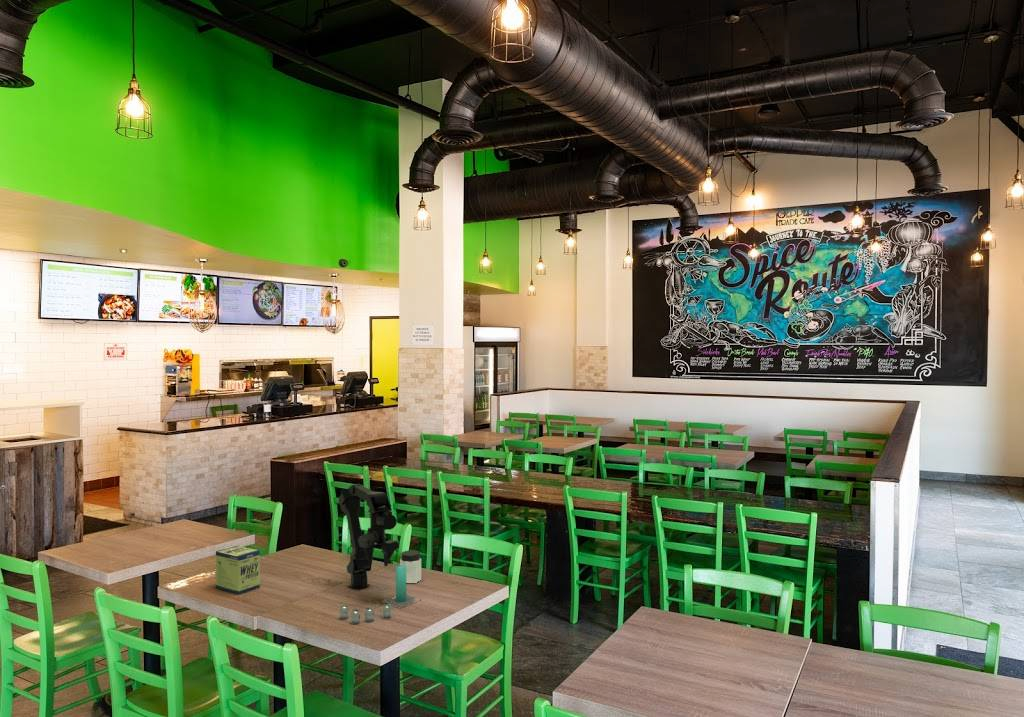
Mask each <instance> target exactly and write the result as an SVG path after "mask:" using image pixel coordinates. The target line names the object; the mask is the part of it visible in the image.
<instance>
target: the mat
mask: <svg viewBox="0 0 1024 717" xmlns="http://www.w3.org/2000/svg"><path fill="white" fill-rule="evenodd" d="M415 598H416V597H414V596H411V595H408V594H406V601H404V602H397V601H396V598H395V599H392V598H391V597H389V598H386V599H383V600H381V601H382V602H384V603H387V604H391V605H394V606H397V607H396V608H398V607H403V608H405V607H404V606H406V605H408V604H411V603H413V602H414V601H415ZM413 599H414V601H413ZM391 601H392V602H391ZM394 602H395V603H394ZM384 603H383V604H384ZM387 604H386V605H387ZM413 604H414V603H413ZM411 605H412V604H411ZM394 606H393V607H394ZM408 606H409V605H408ZM406 607H407V606H406Z"/></svg>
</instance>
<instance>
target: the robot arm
mask: <svg viewBox="0 0 1024 717" xmlns="http://www.w3.org/2000/svg"><path fill="white" fill-rule="evenodd" d="M362 500H363V501H364V502H366V504H365V505H366V506H368V508H369V509H368V513H370V517H369V518H370V519H369V521H370V523H369V524H370V526H369V527H368V528H367V532H366V533H364V534H363V533H362V532H363V531H362V526H361V522H360V516H359V510H360V508H361V501H362ZM338 504H339V506H340V509H341V512H343V513H344V514H345V515H346V516H345V517H346V521H347V526H348V532H349V538H350V542H351V549H352V550H351V553H350V556H349V559H350V560H349V562H348V564H347V566H346V573H348V574H350V584H349V585H347V586H348V588H350V587H351V588H350V589H354V590H357V589H359V590H361V588H362V589H364V588H363V587H365V588H367V587H366V586H368V587H370V586H369V585H371V584H369V583H368V573H367V572H371V571H372V565H373V557H374V556H373V555H374V552H375V545H376V546H380V547H381V550H380V552H381V553H382V554H383V564H384V567H388V565H389V563H390V561H391V559H392V556H393V554H394V552H395V551H397V550H398V549H399V548H400V542H399V541H398V540H395V539H390V540H388V537H387V536H386V531H387V530H388V531H390V530H393V529H394V528H395V527H396V526H397V521H398V520H397V517H396V516H395V515H393V511H392V510H393V508H392V504H391V502H390V499H389V497H388V496H387V494H386V493H385V492H383V491H373V490H371V489H370V488H368V487H366V486H364V485H363V484H360V483H357V484H351V485H350V486H349V487H348V488H347V489H345V490H344V491H343V492H341V494H340V496H339V497H338Z"/></svg>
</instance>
